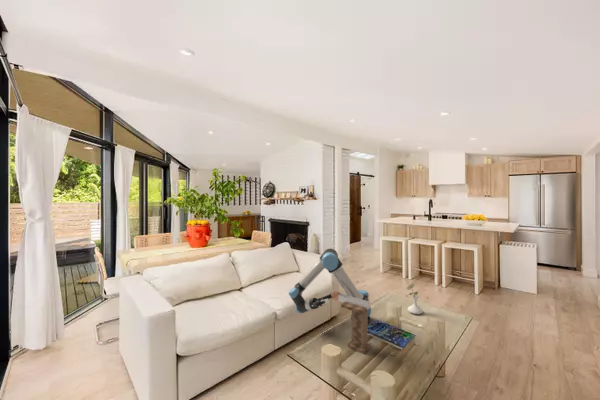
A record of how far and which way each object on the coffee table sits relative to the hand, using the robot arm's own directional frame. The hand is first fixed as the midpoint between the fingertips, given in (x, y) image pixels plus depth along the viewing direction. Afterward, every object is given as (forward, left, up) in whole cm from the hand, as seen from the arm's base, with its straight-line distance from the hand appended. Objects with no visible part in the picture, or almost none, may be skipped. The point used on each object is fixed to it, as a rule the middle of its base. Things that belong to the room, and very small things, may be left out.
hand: (333, 296), depth 187 cm
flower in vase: (-25, +75, -30) cm, 84 cm away
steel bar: (+8, +9, -1) cm, 12 cm away
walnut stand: (+11, +12, -29) cm, 34 cm away
